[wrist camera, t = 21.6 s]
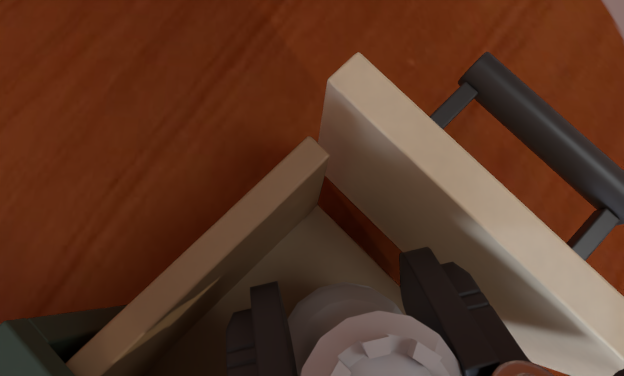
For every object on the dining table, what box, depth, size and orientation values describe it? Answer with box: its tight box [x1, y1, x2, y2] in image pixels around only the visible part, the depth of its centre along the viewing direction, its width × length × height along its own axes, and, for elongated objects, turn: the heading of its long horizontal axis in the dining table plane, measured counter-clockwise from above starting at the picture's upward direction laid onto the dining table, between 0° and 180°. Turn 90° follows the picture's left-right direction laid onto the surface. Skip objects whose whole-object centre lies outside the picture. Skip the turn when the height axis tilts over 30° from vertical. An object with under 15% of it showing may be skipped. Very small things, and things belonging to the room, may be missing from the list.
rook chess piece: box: [287, 282, 463, 376], centre depth 11 cm, size 4×4×8 cm
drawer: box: [65, 52, 624, 376], centre depth 15 cm, size 18×11×9 cm, turn 135°
